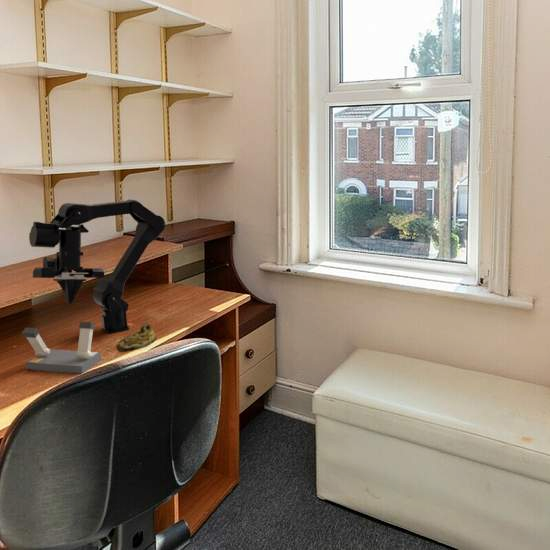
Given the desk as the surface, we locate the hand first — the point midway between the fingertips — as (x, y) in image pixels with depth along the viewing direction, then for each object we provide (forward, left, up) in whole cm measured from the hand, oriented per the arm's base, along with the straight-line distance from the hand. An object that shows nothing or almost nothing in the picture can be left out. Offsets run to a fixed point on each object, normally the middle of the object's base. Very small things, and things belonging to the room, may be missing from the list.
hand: (69, 303), depth 157 cm
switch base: (+6, +14, -12) cm, 19 cm away
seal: (-15, +10, -12) cm, 22 cm away
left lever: (+10, +10, -9) cm, 17 cm away
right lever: (+1, +19, -9) cm, 20 cm away
